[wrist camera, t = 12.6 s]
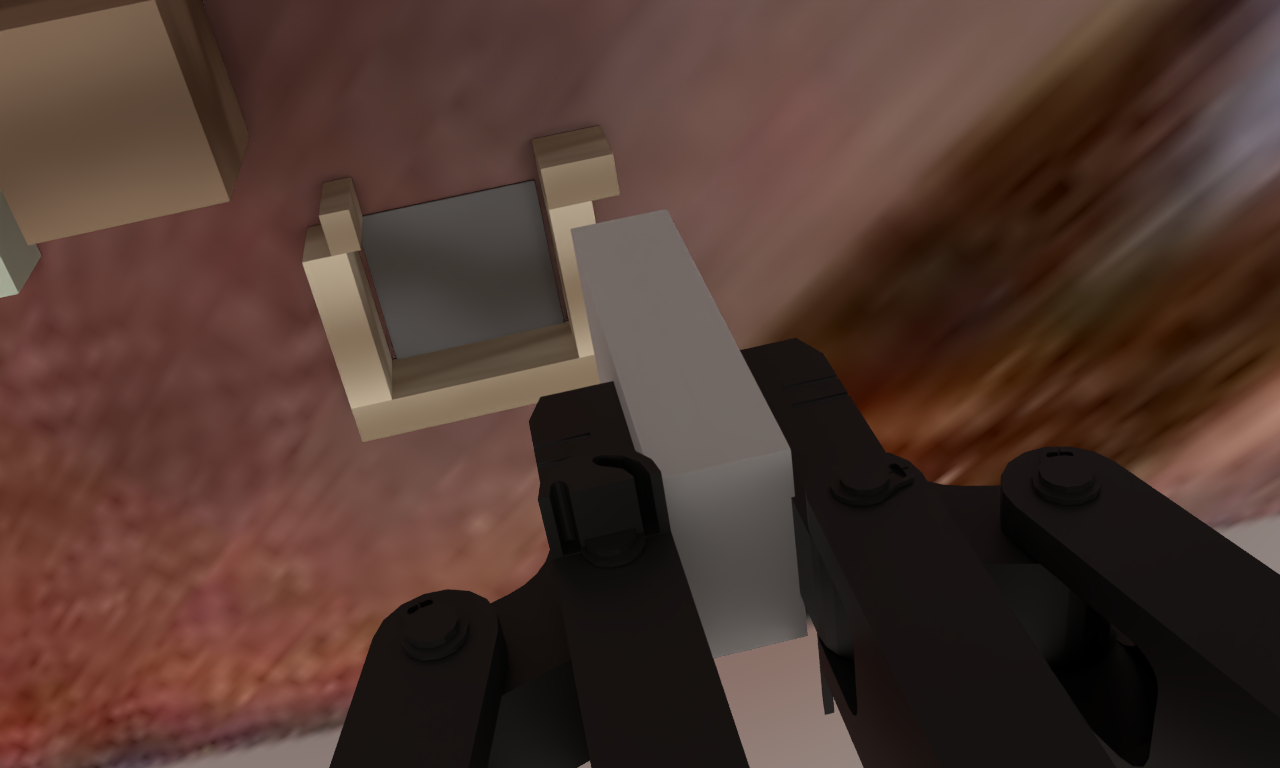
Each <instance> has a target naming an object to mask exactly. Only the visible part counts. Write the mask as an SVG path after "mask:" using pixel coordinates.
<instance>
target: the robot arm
mask: <svg viewBox="0 0 1280 768" xmlns="http://www.w3.org/2000/svg"><path fill="white" fill-rule="evenodd" d="M570 230H571V235H572V240H573V246H574V251H575V256H576V261H577V267H578V272H579V277H580V282H581V287H582V293H583V298H584V303H585V308H586V313H587V319H588V324H589V329H590V334H591V340H592V345H593V350H594V355H595V360H596V366H597V371H598V376H599V381H600V384H597V385H592V386H588V387H583V388H579V389H574V390H570V391H565V392H561V393H556V394H551V395H547V396H542V397H540V399H539V401H538V403H537V405H536V407H535V409H534V411H533V414H532V416H531V418H530V420H529V425H530V430H531V436H532V441H533V446H534V452H535V457H536V463H537V467H538V473H539V479H540V488H539V496H538V502H539V506H540V510H541V514H542V519H543V523H544V527H545V531H546V535H547V539H548V543H549V548H550V551H549V554H548V557H547V559H546V562H545V563H544V565H543V566H542V567H541V569H540V570H539V572H538V573H537V574H536V575H535V576H534V577H533V578H532V579H531V580H529V581H528V582H527V583H526V584H525V585H524V586H522V587H520V588H519V589H517V590H515V591H514V592H512V593H510V594H509V595H507V596H505V597H503V598H501V599H499V600H497V601H495V602H493V603H491V604H490V603H489V601H488V600H487V599H486V598H483V597H481V596H479V595H477V594H475V593H473V592H471V591H462V590H449V589H447V590H442V591H437V592H432V593H427V594H423V595H421V596H419V597H417V598H415V599H413V600H411V601H409V602H406V603H404V604H402V605H401V606H399V607H398V608H397V609H396V610H395V611H394V612H393V613H391V614H390V615H389V616H388V617H387V618H386V619H384V620H383V622H382V624H381V625H380V627H379V629H378V630H377V632H376V634H375V635H374V637H373V639H372V642H371V645H370V648H369V651H368V654H367V657H366V660H365V663H364V666H363V669H362V672H361V675H360V678H359V681H358V684H357V687H356V690H355V693H354V696H353V699H352V702H351V705H350V708H349V711H348V714H347V717H346V720H345V723H344V726H343V728H342V731H341V734H340V737H339V741H338V743H337V747H336V749H335V752H334V755H333V758H332V761H331V764H330V767H329V768H577V767H579V766H581V765H583V764H585V763H586V762H588V761H590V763H591V768H750V767H749V765H748V762H747V758H746V755H745V753H744V749H743V747H742V744H741V740H740V737H739V734H738V731H737V728H736V725H735V722H734V719H733V716H732V713H731V710H730V708H729V704H728V701H727V698H726V695H725V693H724V689H723V686H722V684H721V680H720V677H719V674H718V671H717V668H716V665H715V662H714V659H713V658H717V657H721V656H726V655H730V654H733V653H738V652H742V651H746V650H750V649H755V648H759V647H763V646H767V645H771V644H775V643H779V642H784V641H788V640H791V639H796V638H800V637H804V636H807V623H806V612H805V606H806V608H807V611H808V613H809V615H810V617H811V620H812V622H813V624H814V626H815V629H816V631H817V637H818V649H819V659H820V673H821V685H822V696H823V704H824V710H825V714H830V713H834V702H833V697H834V700H835V702H836V704H837V707H838V709H839V711H840V714H841V716H842V718H843V721H844V723H845V725H846V727H847V730H848V732H849V735H850V737H851V739H852V742H853V744H854V746H855V748H856V751H857V753H858V756H859V758H860V760H861V762H862V765H863V767H864V768H1280V575H1279V574H1278V573H1276V572H1275V571H1273V570H1272V569H1271V568H1269V567H1268V566H1266V565H1265V564H1263V563H1262V562H1260V561H1259V560H1257V559H1256V558H1255V557H1253V556H1252V555H1250V554H1249V553H1247V552H1246V551H1244V550H1243V549H1241V548H1240V547H1238V546H1237V545H1236V544H1234V543H1233V542H1231V541H1230V540H1228V539H1227V538H1225V537H1224V536H1223V535H1221V534H1220V533H1218V532H1217V531H1215V530H1214V529H1212V528H1211V527H1209V526H1208V525H1206V524H1205V523H1204V522H1202V521H1201V520H1199V519H1198V518H1196V517H1195V516H1193V515H1192V514H1190V513H1189V512H1188V511H1186V510H1185V509H1183V508H1182V507H1180V506H1179V505H1177V504H1176V503H1174V502H1173V501H1171V500H1170V499H1169V498H1167V497H1166V496H1164V495H1163V494H1161V493H1160V492H1158V491H1157V490H1155V489H1154V488H1152V487H1151V486H1150V485H1148V484H1147V483H1145V482H1144V481H1142V480H1141V479H1139V478H1138V477H1136V476H1135V475H1134V474H1132V473H1131V472H1129V471H1128V470H1126V469H1125V468H1123V467H1122V466H1120V465H1119V464H1117V463H1116V462H1115V461H1112V460H1110V459H1108V458H1106V457H1104V456H1102V455H1100V454H1098V453H1096V452H1093V451H1089V450H1084V449H1079V448H1074V447H1044V448H1040V449H1036V450H1032V451H1028V452H1025V453H1023V454H1021V455H1020V456H1018V457H1017V458H1015V459H1013V460H1012V461H1010V462H1009V463H1008V464H1007V466H1006V468H1005V470H1004V472H1003V473H1002V475H1001V486H955V485H942V484H937V483H933V482H928V481H927V480H926V478H925V477H924V475H923V474H922V472H920V471H919V470H918V469H917V468H916V467H915V466H914V465H913V464H912V463H911V462H910V461H908V460H905V459H903V458H901V457H898V456H896V455H893V454H891V453H886V452H885V450H884V449H883V447H882V446H881V444H880V443H879V441H878V439H877V438H876V436H875V435H874V433H873V432H872V430H871V428H870V427H869V425H868V424H867V422H866V421H865V419H864V417H863V416H862V414H861V413H860V411H859V410H858V408H857V406H856V405H855V403H854V402H853V400H852V399H851V397H850V396H848V394H847V391H846V389H845V388H844V386H843V384H842V383H841V381H840V380H839V379H837V376H836V373H835V372H834V370H833V369H832V367H831V366H830V364H829V362H828V361H827V359H826V358H825V356H824V355H823V353H821V352H819V351H818V350H816V349H814V348H813V347H811V346H809V345H807V344H806V343H804V342H802V341H800V340H799V339H797V338H794V339H789V340H784V341H780V342H775V343H771V344H766V345H762V346H757V347H753V348H748V349H744V350H739V348H738V346H737V344H736V342H735V340H734V338H733V336H732V334H731V333H730V331H729V329H728V327H727V325H726V323H725V321H724V319H723V317H722V315H721V313H720V311H719V309H718V307H717V305H716V303H715V302H714V300H713V298H712V296H711V294H710V292H709V290H708V288H707V286H706V284H705V282H704V280H703V278H702V276H701V274H700V272H699V271H698V269H697V267H696V265H695V263H694V261H693V259H692V257H691V255H690V253H689V251H688V249H687V247H686V245H685V243H684V241H683V240H682V238H681V236H680V234H679V232H678V230H677V228H676V226H675V224H674V222H673V220H672V218H671V216H670V214H669V212H668V210H667V209H663V210H658V211H654V212H649V213H644V214H639V215H634V216H630V217H625V218H620V219H615V220H611V221H606V222H601V223H596V224H591V225H587V226H582V227H577V228H572V229H570Z"/></svg>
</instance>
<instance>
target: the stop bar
mask: <svg viewBox="0 0 1280 768" xmlns="http://www.w3.org/2000/svg"><path fill="white" fill-rule="evenodd" d="M41 256H42V255H41V253H40V251H39V249H38V247H37V245H36V244H32V245H28V244H27V242H26V240H25V238H24V236H23V234H22V232H21V230H20V228H19V226H18V224H17V222H16V220H15V218H14V216H13V214H12V212H11V210H10V207H9V205H8V203H7V201H6V199H5V197H4V195H3V193H2V191H1V189H0V298H1V297H6V296H10V295H15V294H19V293H20V291H21V289H22V287H23V286H24V284H25V282H26V281H27V279H28V277H29V276H30V274H31V272H32V271H33V269H34V267H35V266H36V264H37V262H38V261H39V259H40V257H41Z"/></svg>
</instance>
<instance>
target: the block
mask: <svg viewBox="0 0 1280 768" xmlns="http://www.w3.org/2000/svg"><path fill="white" fill-rule="evenodd" d="M249 137H250V136H249V133H248V130H247V127H246V124H245V122H244V119H243V116H242V113H241V110H240V107H239V105H238V102H237V99H236V96H235V93H234V90H233V88H232V85H231V82H230V79H229V76H228V73H227V71H226V68H225V65H224V62H223V59H222V57H221V54H220V51H219V48H218V45H217V42H216V40H215V37H214V34H213V31H212V28H211V25H210V23H209V20H208V17H207V14H206V11H205V8H204V6H203V3H202V0H0V189H1V191H2V193H3V195H4V197H5V199H6V201H7V203H8V205H9V207H10V210H11V212H12V214H13V216H14V218H15V220H16V222H17V224H18V226H19V228H20V230H21V232H22V234H23V236H24V238H25V240H26V242H27V244H28V245H32V244H37V243H41V242H46V241H50V240H55V239H60V238H64V237H69V236H73V235H78V234H82V233H87V232H92V231H96V230H101V229H105V228H110V227H115V226H119V225H124V224H128V223H133V222H137V221H142V220H147V219H151V218H156V217H160V216H165V215H169V214H174V213H179V212H183V211H188V210H192V209H197V208H202V207H206V206H211V205H215V204H220V203H224V202H229V201H230V200H231V197H232V193H233V190H234V187H235V183H236V180H237V177H238V173H239V170H240V167H241V164H242V160H243V157H244V154H245V150H246V147H247V144H248V140H249Z"/></svg>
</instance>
